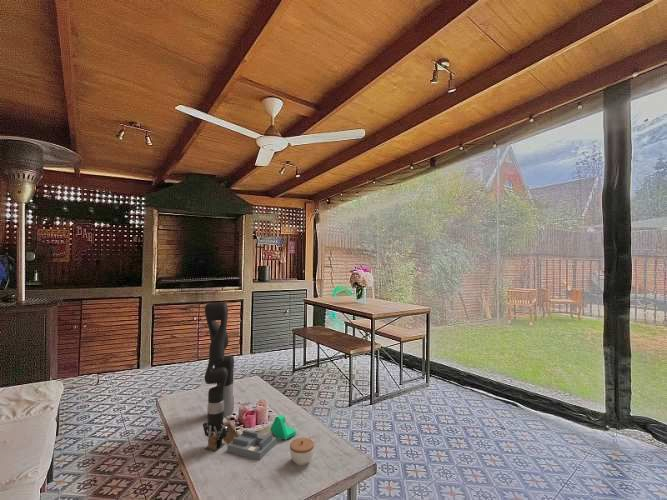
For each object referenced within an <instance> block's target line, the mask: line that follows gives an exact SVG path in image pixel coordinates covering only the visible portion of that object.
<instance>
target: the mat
mask: <svg viewBox="0 0 667 500" xmlns="http://www.w3.org/2000/svg"><path fill="white" fill-rule="evenodd" d="M224 446H226V443H223V442H222V445H221V446H220V447H219V448H217V449H215V450H214V449H210V448H208V446H207V447H206V448H204V450H205V451H209V452H213V453H216V452H217V451H218V450H220V449H221V448H222V447H224Z"/></svg>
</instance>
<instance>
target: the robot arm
mask: <svg viewBox="0 0 667 500" xmlns="http://www.w3.org/2000/svg"><path fill="white" fill-rule="evenodd" d="M204 315H205V319H206V323H207V326H208V331H209V338H210V344H209V347H208V348H209V351H208V352H209V353H208V355H209V357H208V364H207V367H206V371H205V373H204V382H205V383H206V384H208V385H212V384H213V385H214V384H216V385H215V386H213V387H210V388H209V389H208V392H207V393H208V395H207V396H208V398H207V413H206V414H207V416H206V417H207V419H206V420H207V421H205V422H204V423H202V428H203V431H204V436H205V437H208V438H210V437H211V436H213V435H214V434H216V436H217V448H219V447H220V446H221V445H222V443H223V440H224V439H225V438H226V437H227V434H228V431H229V426H228V425H224V418H225V417H228V416H230V415H232V414H233V413H234V410H235V409H234V408H235V407H234V406H235V403H234V402H235V398H234V397H235V394H234V370H235V359H234V356H233V355H225V350H226V349H227V348H228V345H229V335H228V331H227V326H228V316H229V307H228V303H227V302H225V301H221V302H209V303H207V304H206V305H205V307H204ZM218 321H220V324H219V323H218ZM219 435H220V437H219ZM208 438H207V439H208Z"/></svg>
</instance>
